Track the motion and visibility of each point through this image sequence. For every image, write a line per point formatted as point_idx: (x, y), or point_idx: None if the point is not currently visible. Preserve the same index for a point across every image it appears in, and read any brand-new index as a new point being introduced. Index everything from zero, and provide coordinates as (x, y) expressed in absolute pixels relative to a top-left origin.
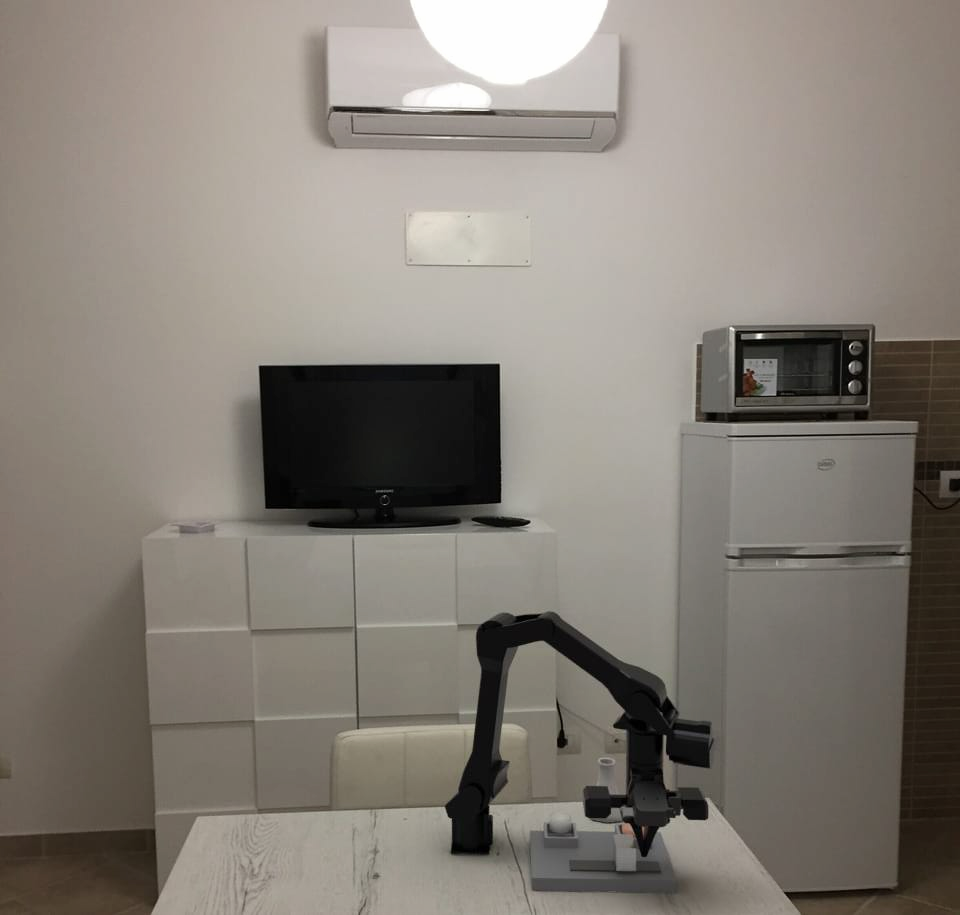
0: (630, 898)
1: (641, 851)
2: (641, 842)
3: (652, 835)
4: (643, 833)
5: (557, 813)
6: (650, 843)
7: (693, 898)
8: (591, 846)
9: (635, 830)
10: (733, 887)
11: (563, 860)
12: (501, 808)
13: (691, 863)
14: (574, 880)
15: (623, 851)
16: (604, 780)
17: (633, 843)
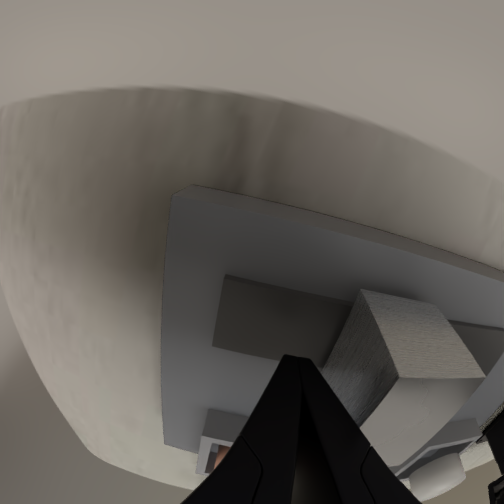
0: (394, 189)
1: (318, 379)
2: (331, 423)
3: (247, 464)
4: (221, 457)
5: (435, 494)
6: (264, 411)
7: (142, 140)
8: None
9: (401, 500)
10: (28, 197)
11: (488, 377)
12: (406, 486)
13: (106, 338)
14: None
15: (453, 363)
16: None
17: (373, 420)
